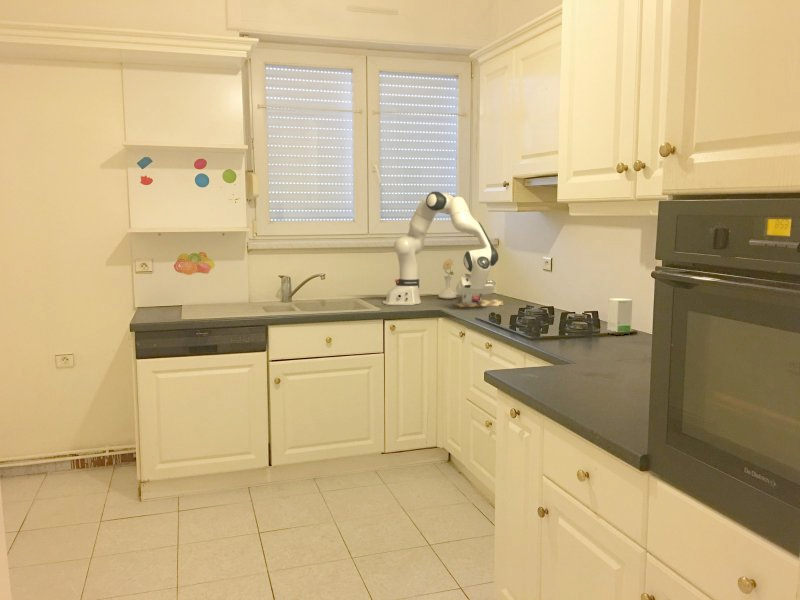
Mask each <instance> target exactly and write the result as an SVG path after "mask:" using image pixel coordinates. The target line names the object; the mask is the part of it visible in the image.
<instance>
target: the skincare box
mask: <svg viewBox="0 0 800 600" xmlns="http://www.w3.org/2000/svg"><path fill="white" fill-rule="evenodd" d="M607 307H608V308H607V327H606V331H607V330H611V331H616V332H619V331H631V332H632V317H633V316H632V312H633V311H632V310H633V299H629V298H619V297H618V298H608V305H607Z"/></svg>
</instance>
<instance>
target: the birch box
mask: <svg viewBox="0 0 800 600" xmlns="http://www.w3.org/2000/svg"><path fill="white" fill-rule="evenodd" d="M477 305H479V306H480V305H481V306H480V307H493V306H494V307H499V305H503V306H504V301H503V300H501V299H481V300H478V302H477Z"/></svg>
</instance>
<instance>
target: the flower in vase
mask: <svg viewBox="0 0 800 600" xmlns="http://www.w3.org/2000/svg"><path fill="white" fill-rule="evenodd" d="M453 265H454V260H453V259H452V258H447V259H445V261H443V264H442V269H443V270H444V273H446V274H447V275H445V276H443V277H444V280H445V288H444V290H442V291H441V292H440V293H439V294H438V298H441V299H444V300H452V299H455V298H457V297H458V294H456V292H454V291H453V290H452V289H451V288H450V283H451V280H452V279H451V278H452V277H453V275H454V272H453V270H452V266H453ZM448 270H450V271H449V272H448Z"/></svg>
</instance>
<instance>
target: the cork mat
mask: <svg viewBox="0 0 800 600" xmlns="http://www.w3.org/2000/svg"><path fill="white" fill-rule="evenodd" d="M454 304H455V305H454V306H456V305H457V306H456V307H458V306H459V307H458V308H477V307H478V308H480V307H481V306H480V305H478V303H475V302H472V305H462V302H461V303H459V302H458V303H457V302H456V303H454ZM475 306H476V307H475Z"/></svg>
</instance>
